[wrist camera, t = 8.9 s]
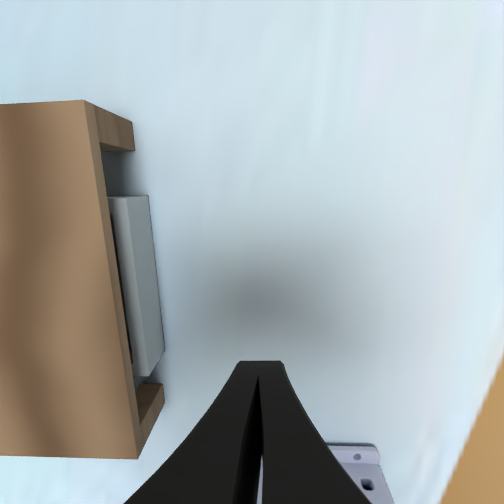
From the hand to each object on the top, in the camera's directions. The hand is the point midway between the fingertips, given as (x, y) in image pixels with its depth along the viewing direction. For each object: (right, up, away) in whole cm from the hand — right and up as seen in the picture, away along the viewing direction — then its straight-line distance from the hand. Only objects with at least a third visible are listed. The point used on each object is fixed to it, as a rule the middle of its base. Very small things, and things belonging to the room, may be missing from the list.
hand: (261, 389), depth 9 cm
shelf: (-11, +2, +9) cm, 15 cm away
